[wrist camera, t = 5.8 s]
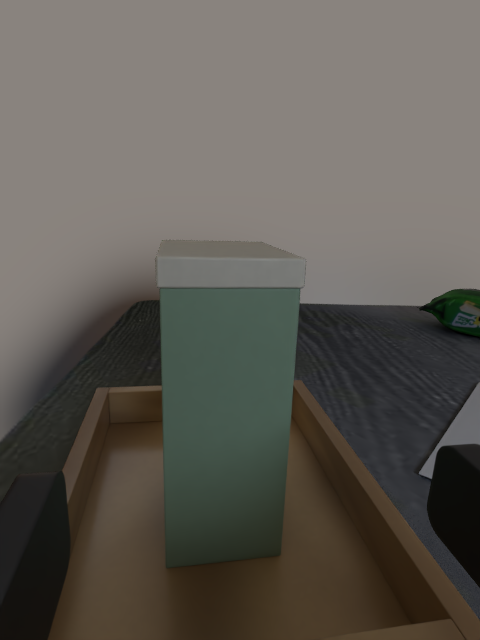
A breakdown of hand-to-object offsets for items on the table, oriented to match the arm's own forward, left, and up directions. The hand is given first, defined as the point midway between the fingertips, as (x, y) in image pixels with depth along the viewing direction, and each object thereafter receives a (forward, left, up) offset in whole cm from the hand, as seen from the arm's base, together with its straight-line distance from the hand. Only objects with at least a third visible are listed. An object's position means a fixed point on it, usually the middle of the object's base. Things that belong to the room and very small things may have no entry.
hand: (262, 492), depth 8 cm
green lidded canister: (0, -9, -8) cm, 12 cm away
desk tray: (0, -9, -8) cm, 12 cm away
